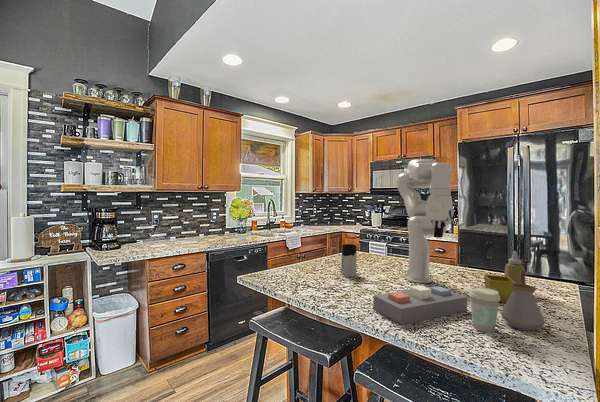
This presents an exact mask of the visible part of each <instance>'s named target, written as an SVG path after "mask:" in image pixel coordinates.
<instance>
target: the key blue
mask: <svg viewBox="0 0 600 402" xmlns="http://www.w3.org/2000/svg"><path fill="white" fill-rule="evenodd" d="M430 287H431V288H430V289H431V293H434V294H436V295H439V296H446V295H451V292H452V290H451V289H448V288H447V287H442V286H440V285H439V286H437V287H433V286H430Z"/></svg>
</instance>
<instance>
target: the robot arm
mask: <svg viewBox="0 0 600 402" xmlns="http://www.w3.org/2000/svg"><path fill="white" fill-rule="evenodd" d="M407 170H408V171H407V172H402V173H400V174H399V175H398V176H397V178H396V179H397V180H396V185H397V186H396V187H397V191H398V192H399V194H400V196H401V198H402V199H403V202H404V206H405V210H406V213H407V216H408V217H409V218H408V220H407V229H408V267H405V268H404V269H403V271H404V272H405V273H406V275H405V276H404V279H405V280H407V281H409V282H413V283H419V284H429V283H432V282H433V278H432V277H431V276H430V255H431V254H430V252H431V251H430V249H431V248H430V247H431V246H430V242H429V241H428V240H427V238H426V236H433V237H434V238H436V239H437V238H443V236H444V234H445V233H446V232H447V226H448V225H451V224H452V220H453V218H454V215H453V214H454V206H453V198H452V196H451V194H452V193H451V192H452V190H451V189H452V177H453V176H452V173H453V172H452V171H453V165H452V164H451V163H450V162H444V161H443V162H438V161H437V160H436V159H434V158H433V159H432V158H414V159H412V160H410V161H409V162H408V164H407ZM427 188H430V189H429V191H428V192H429V193H430V195H428V196H427V197H428V198H427V200H423V199H422V197H421V194H420V193H419V192H417V191H416V190H415V189H427Z"/></svg>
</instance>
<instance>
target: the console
mask: <svg viewBox="0 0 600 402" xmlns="http://www.w3.org/2000/svg"><path fill="white" fill-rule="evenodd" d="M426 287H427V286H426ZM431 287H438V286H436V285H433V286H428V287H427V288H429V289H430V288H431ZM395 292H396V291H392V292H391V293H395ZM398 292H401V293H403V294H406V295H408V296H410V289H406V290H398ZM388 293H389V292H388ZM388 293H387V292H386V293H380V294H374V295H373V296H372V297H373V298H372V309H373V310H374V311H376V312H378V313H380V314H381V315H383V316H385V317H387V318H389V319H390V320H392V321H394V322H395V323H397V324H400V325H404V324H409V323H415V322H419V321H424V320H428V319H434V318H438V317H443V316H448V315H452V314H457V313H458V314H459V313H462V312H466V311H468V296H466V295H463V294H460V293H457V292H454V291H451V295H446V296H439V295H436V294H434V293H431V298H428V299H422V300H420V299H418V298H415V297H413V296H410V302H404V303H396V302H394V301H392V300H390V299H388Z"/></svg>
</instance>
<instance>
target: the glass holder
mask: <svg viewBox="0 0 600 402" xmlns="http://www.w3.org/2000/svg"><path fill="white" fill-rule="evenodd" d="M333 249H336V250H337V254H338V256H339V257H341V264H340V265H339V264H338V263H336V262H335V260H334V259H333V256H332V250H333ZM329 251H330V258H331V260H332V262H333V263H334V264H335V265H336V266H337V267H339V269H340V272H339V273H340V274H339V275H342V276H346V277H355V276H357V275H358V273H357V264H358V263H357V258H358V257H357V256H358V253H357V251H358V249H357V245H356V244H351V243H349V244H347V243H346V244H342V245H341V254H340V251H339V248H337V247H335V246H334V247H331V249H330V250H329Z"/></svg>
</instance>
